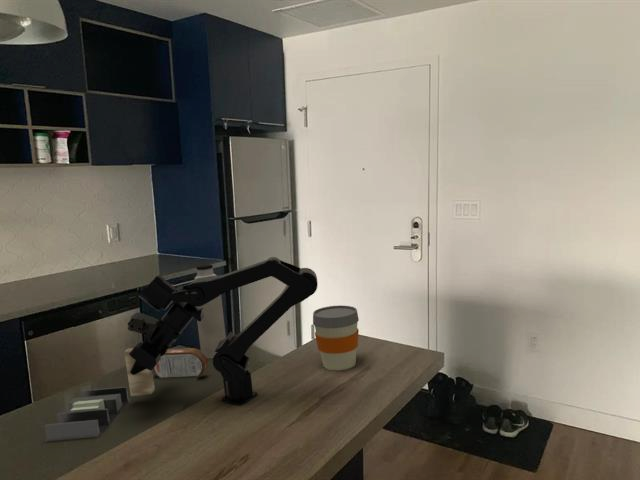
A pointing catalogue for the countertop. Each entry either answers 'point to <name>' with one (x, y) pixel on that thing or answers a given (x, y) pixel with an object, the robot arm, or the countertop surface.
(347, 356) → the reusable coffee cup
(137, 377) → the light wooden block
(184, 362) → the tin
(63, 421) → the rack
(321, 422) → the countertop surface
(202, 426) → the countertop surface
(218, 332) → the thermos bottle
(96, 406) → the offcuts
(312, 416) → the countertop surface
